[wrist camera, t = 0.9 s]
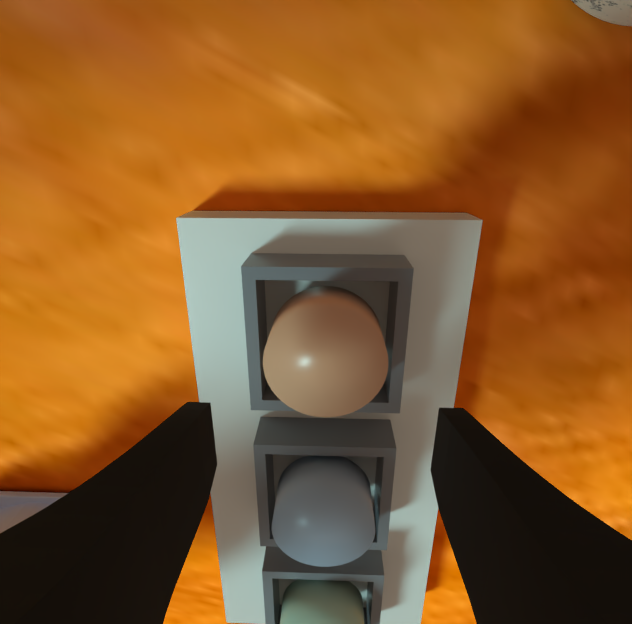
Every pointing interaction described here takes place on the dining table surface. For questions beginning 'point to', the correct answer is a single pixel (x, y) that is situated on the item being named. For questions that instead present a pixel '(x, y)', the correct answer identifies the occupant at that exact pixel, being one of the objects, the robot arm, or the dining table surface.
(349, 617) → the sage button
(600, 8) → the teacup with lid
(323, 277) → the button console
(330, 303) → the terracotta button
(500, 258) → the dining table surface
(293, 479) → the dusty blue button
